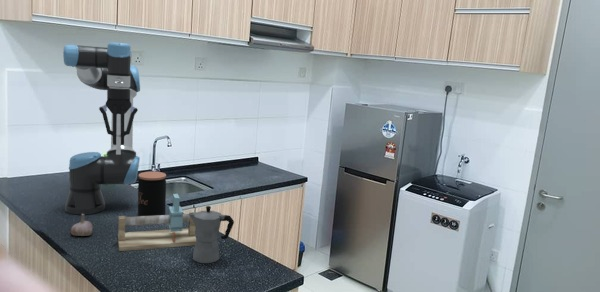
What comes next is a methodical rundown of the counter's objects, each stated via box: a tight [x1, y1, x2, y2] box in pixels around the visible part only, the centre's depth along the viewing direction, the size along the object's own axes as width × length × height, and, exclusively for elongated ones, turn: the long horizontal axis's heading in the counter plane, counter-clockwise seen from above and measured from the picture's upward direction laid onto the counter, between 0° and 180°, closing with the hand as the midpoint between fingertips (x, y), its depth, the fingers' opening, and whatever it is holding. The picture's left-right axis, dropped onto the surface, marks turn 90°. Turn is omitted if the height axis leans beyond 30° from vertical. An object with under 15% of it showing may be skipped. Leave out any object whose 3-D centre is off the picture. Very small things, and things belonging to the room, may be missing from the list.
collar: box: [167, 193, 184, 232], centre depth 168 cm, size 7×4×12 cm, turn 22°
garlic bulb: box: [70, 214, 94, 237], centre depth 168 cm, size 8×7×8 cm
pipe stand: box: [117, 211, 197, 252], centre depth 167 cm, size 13×26×10 cm, turn 112°
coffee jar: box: [137, 171, 167, 216], centre depth 189 cm, size 11×11×18 cm
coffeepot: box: [188, 205, 235, 264], centre depth 156 cm, size 15×9×18 cm, turn 82°
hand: (118, 153), depth 168 cm, fingers closed
